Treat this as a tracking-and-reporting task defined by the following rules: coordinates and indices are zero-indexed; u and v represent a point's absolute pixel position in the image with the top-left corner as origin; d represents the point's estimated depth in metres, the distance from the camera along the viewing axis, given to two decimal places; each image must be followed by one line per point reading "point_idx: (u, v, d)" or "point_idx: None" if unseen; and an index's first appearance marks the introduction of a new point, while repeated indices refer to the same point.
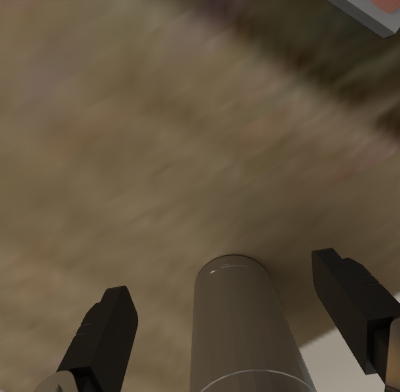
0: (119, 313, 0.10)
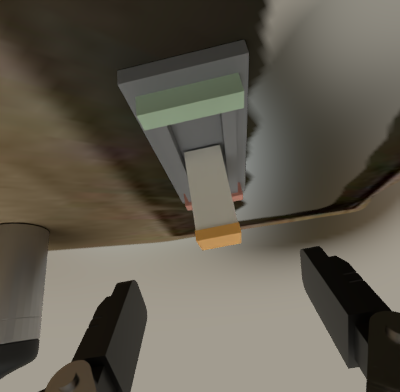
0: (130, 306, 0.10)
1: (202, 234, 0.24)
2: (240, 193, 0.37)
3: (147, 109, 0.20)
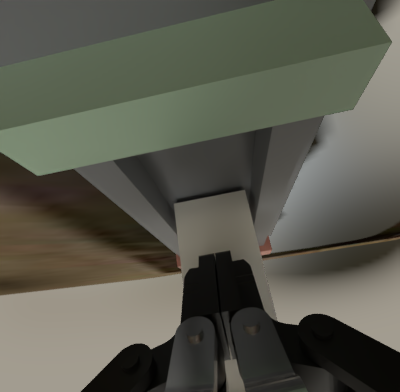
0: (216, 276, 0.11)
1: None
2: (268, 247, 0.22)
3: (19, 112, 0.05)
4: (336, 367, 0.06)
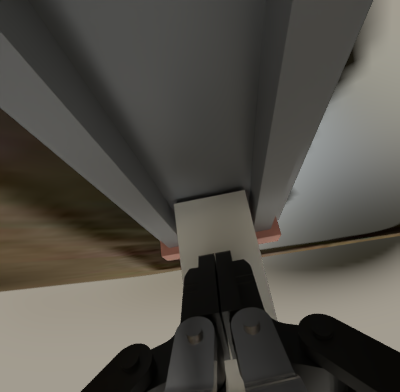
0: (216, 276, 0.11)
1: None
2: (276, 231, 0.18)
3: None
4: (336, 367, 0.06)
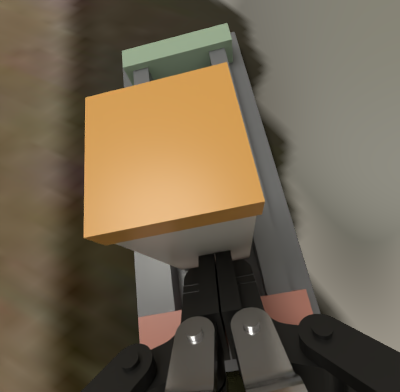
0: (217, 276, 0.11)
1: None
2: (298, 290, 0.13)
3: None
4: (336, 367, 0.06)
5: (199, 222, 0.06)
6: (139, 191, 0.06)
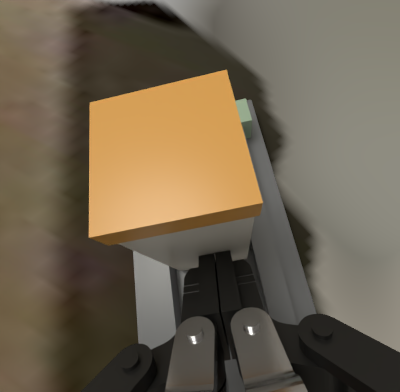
0: (217, 276, 0.11)
1: None
2: None
3: None
4: (336, 367, 0.06)
5: (200, 223, 0.07)
6: (142, 193, 0.06)
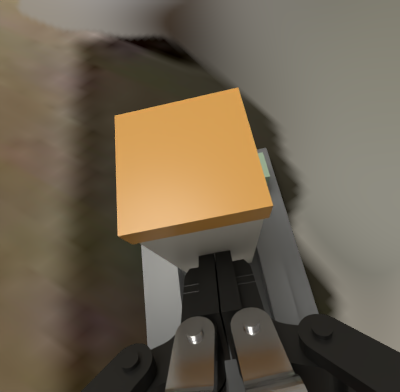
0: (217, 276, 0.11)
1: None
2: None
3: None
4: (336, 367, 0.06)
5: (216, 223, 0.07)
6: (165, 196, 0.07)
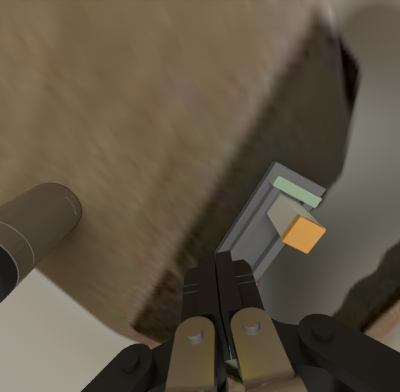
0: (217, 276, 0.11)
1: (303, 217, 0.34)
2: (256, 282, 0.48)
3: (282, 177, 0.41)
4: (336, 367, 0.06)
5: None
6: (294, 240, 0.35)
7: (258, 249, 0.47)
